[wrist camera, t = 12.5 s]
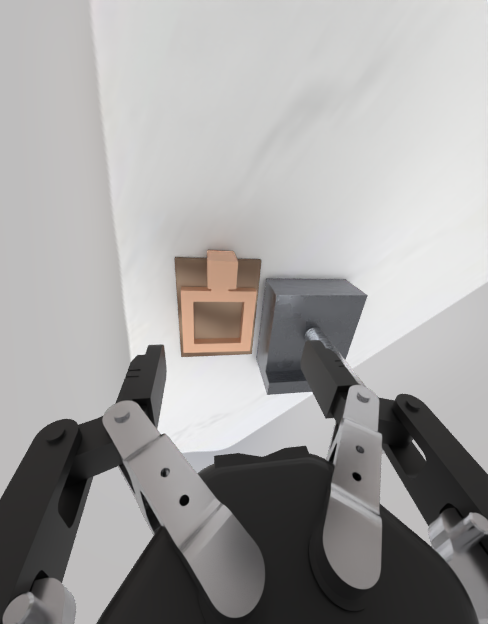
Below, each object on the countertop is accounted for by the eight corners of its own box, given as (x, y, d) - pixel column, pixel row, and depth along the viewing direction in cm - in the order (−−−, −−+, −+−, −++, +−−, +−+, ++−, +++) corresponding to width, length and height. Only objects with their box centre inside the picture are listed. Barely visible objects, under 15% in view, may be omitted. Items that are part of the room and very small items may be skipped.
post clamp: (265, 278, 31) (340, 395, 14) (345, 279, 32) (492, 384, 16) (255, 369, 38) (296, 516, 21) (320, 365, 40) (405, 498, 23)
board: (175, 257, 28) (174, 258, 27) (260, 259, 29) (261, 260, 29) (181, 354, 34) (181, 356, 34) (250, 351, 36) (251, 354, 35)
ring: (179, 248, 27) (176, 259, 23) (259, 252, 28) (267, 262, 25) (183, 347, 33) (181, 367, 30) (248, 345, 35) (253, 364, 31)
